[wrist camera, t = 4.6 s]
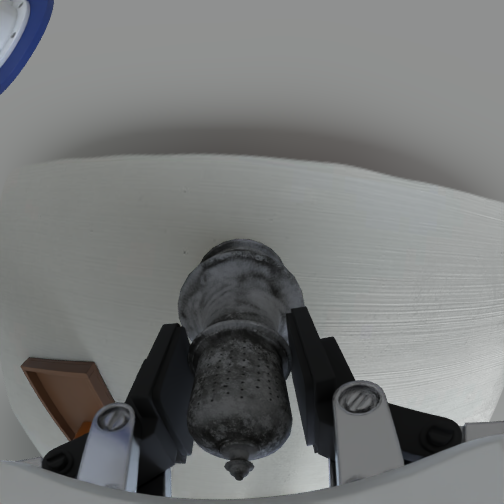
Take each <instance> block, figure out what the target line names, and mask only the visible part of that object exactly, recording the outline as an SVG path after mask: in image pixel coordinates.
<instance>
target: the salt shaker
mask: <svg viewBox="0 0 504 504" xmlns="http://www.w3.org/2000/svg"><path fill="white" fill-rule="evenodd" d="M298 307H304V300H303V295H302V291H301V289H300V287H299V285H298V283H297V281H296V279H295V277H294V276H293V275H292V274H291V273H290V272H289V271H288V270H287V269H286V267H285V266H284V265H283V263H282V261H281V259H280V257H279V256H278V255H277V254H276V253H275V252H274V251H273V250H272V249H271V248H269V247H267V246H266V245H264V244H262V243H260V242H257V241H253V240H250V239H234V240H230V241H225V242H223V243H221V244H219V245H217V246H215V247H213V248H212V249H211V250H210V251H209V252H208V253H207V254H206V255H205V256H204V257H203V259H202V261H201V263H200V264H199V265H198V266H197V267H196V268H195V269H194V270H193V271H192V272H191V273H190V274H189V275H188V277H187V279H186V281H185V282H184V284H183V286H182V288H181V291H180V296H179V300H178V311H179V319H180V322H181V324H182V326H184V328H185V330H186V333H187V336H188V337H189V338H190V340H191V341H192V344H191V345H190V349H189V353H188V364H189V368H190V370H191V373H192V375H193V377H194V383H193V387H192V392H191V397H190V402H189V407H188V411H187V416H186V418H187V426H188V431H189V433H190V435H191V436H192V438H193V439H194V441H195V442H196V443H197V444H198V446H200V447H201V448H202V449H203V450H205V451H206V452H208V453H210V454H212V455H214V456H217V457H220V458H223V459H227V460H230V461H229V462H227V463H226V464H225V466H224V467H225V468H226V470H228V471H229V472H230V474H231V475H232V476H234V477H235V479H236V480H238V481H241V480H243V478H244V477H246V476H247V475H248V473H249V471H252V470H253V468H254V465H253V464H252V463H251V462H249V461H250V460H256V459H259V458H263V457H266V456H268V455H270V454H272V453H274V452H276V451H277V450H278V449H279V448H281V446H282V445H283V444H284V443H285V442H286V440H287V439H288V437H289V436H290V433H291V427H292V414H291V408H290V403H289V398H288V392H287V387H286V380H287V378H288V376H289V374H290V372H291V370H292V354H291V350H290V347H289V345H288V344H289V342H288V332H287V323H286V313H291V309H292V308H298Z"/></svg>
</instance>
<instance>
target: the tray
mask: <svg viewBox="0 0 504 504" xmlns="http://www.w3.org/2000/svg"><path fill="white" fill-rule="evenodd" d="M21 368H22V370H23V372H24V374H25V375H26V377H27V379H28V381H29V382H30V384H31V386H32V388H33V389H34V391H35V393H36V394H37V396H38V397H39V399H40V401H41V402H42V404H43V405H44V407H45V408H46V410H47V411H48V413H49V414H50V416H51V417H52V419H53V420H54V421H55V423H56V424H57V426H58V427H59V428H60V430H61V431H62V432H63V434H64V435H65V436H66V438H67V439H68V440H69V441H72V440H73V439H74V437H75V435H76V434H77V432H78V430H79V428H80V426H81V425H82V423H83V422H92V421H93V418H94V416H95V414H96V413H97V412H98V411H99V410H100V409H101V408H102V407H104V406H106V405H108V404H111V403H115V402H114V400H113V398H112V396H111V394H110V393H109V391H108V389H107V387H106V385H105V383H104V381H103V379H102V377H101V375H100V373H99V371H98V369H97V367H96V365H95V363H94V362H79V361H63V360H50V359H39V358H30V357H29V358H28V359H27V360H26V361H25V362H24V363H23V364H22V365H21Z"/></svg>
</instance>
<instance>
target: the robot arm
mask: <svg viewBox="0 0 504 504" xmlns="http://www.w3.org/2000/svg"><path fill="white" fill-rule="evenodd" d="M29 15H30V4H29V2H28V1H27V0H11V1H10V0H0V68H1V66H2V65H3V64H4V63H5V61H6V60H7V59H8V57H9V56H10V54H11V53H12V51H13V50H14V48H15V47H16V45H17V43H18V41H19V40H20V38H21V36H22V34H23V32H24V30H25V27H26V25H27V22H28V19H29ZM286 323H287V332H288V342H289V347H290V350H291V354H292V370H291V372H292V378H293V383H294V388H295V392H296V397H297V402H298V406H299V411H300V416H301V420H302V425H303V430H304V435H305V440H306V444H307V446H309V445H313V447H314V452H315V453H318V454H320V455H322V456H324V457H326V458H328V463H329V488H325V489H320V490H315V491H310V492H304V493H298V494H291V495H283V496H274V497H264V498H251V499H225V500H212V499H186V498H173V497H172V492H171V468H170V467H172V466H173V465H175V463H183V464H185V463H186V457H187V456H190V455H191V453H192V448H193V441H194V439H193V438H192V436H191V435H190V433H189V431H188V426H187V418H186V416H187V411H188V407H189V402H190V397H191V392H192V387H193V383H194V377H193V375H192V373H191V370H190V368H189V364H188V353H189V349H190V343H189V340H188V337H187V333H186V330H185V328H184V326H182V327H180V325H179V324H178V323H174V324H164V325H163V326H162V328H161V330H160V332H159V334H158V336H157V338H156V340H155V342H154V345H153V347H152V349H151V351H150V353H149V355H148V357H147V359H145V360H144V362H143V364H142V366H141V368H140V370H139V372H138V375H137V377H136V379H135V381H134V383H133V386H132V388H131V390H130V392H129V394H128V397H127V399H126V401H125V403H120V402H117V403H111V404H108V405H106V406H104V407H102V408H101V409H100V410H99V411H98V412H97V413H96V414H95V416H94V418H93V421H92V424H91V428H90V431H89V432H88V433H86V434H84V435H82V436H80V437H78V438H76V439H74V440H72V441H70V442H67V443H65V444H63V445H61V446H59V447H57V448H54V449H53V450H51V451H49V452H48V453H47V454H46V455H45V457H44V459H43V458H42V457H37V458H32V459H26V460H20V461H8V460H0V504H504V421H496V422H477V423H465V425H464V426H458V424H457V423H455V422H454V421H453V420H450V419H448V418H444V417H440V416H436V415H431V414H427V413H423V412H419V411H415V410H412V409H408V408H404V407H400V406H397V405H393V404H390V403H388V402H387V399H386V396H385V393H384V391H383V389H382V388H381V387H379V386H378V385H377V384H375V383H373V382H370V381H364V380H358V381H355V379H354V377H353V375H352V373H351V370H350V368H349V366H348V364H347V362H346V360H345V358H344V356H343V354H342V352H341V350H340V348H339V346H338V344H337V342H336V340H335V338H334V337H328V338H322V339H320V338H319V335H318V333H317V331H316V328H315V326H314V324H313V321H312V319H311V317H310V314H309V312H308V310H307V307H306V306H304V307H298V308H292V309H291V313H286Z"/></svg>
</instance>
